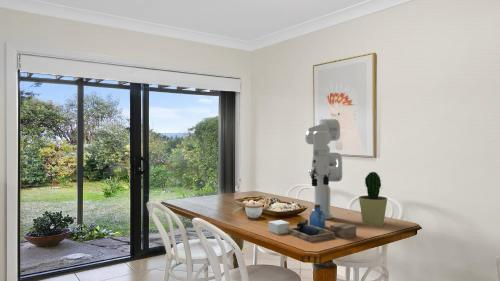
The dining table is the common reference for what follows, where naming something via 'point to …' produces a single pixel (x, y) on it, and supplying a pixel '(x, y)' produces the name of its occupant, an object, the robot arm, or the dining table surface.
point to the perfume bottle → (317, 217)
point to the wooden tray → (323, 236)
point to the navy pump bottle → (308, 229)
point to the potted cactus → (373, 202)
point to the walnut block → (343, 230)
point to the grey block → (278, 226)
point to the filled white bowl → (253, 209)
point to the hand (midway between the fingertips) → (320, 185)
